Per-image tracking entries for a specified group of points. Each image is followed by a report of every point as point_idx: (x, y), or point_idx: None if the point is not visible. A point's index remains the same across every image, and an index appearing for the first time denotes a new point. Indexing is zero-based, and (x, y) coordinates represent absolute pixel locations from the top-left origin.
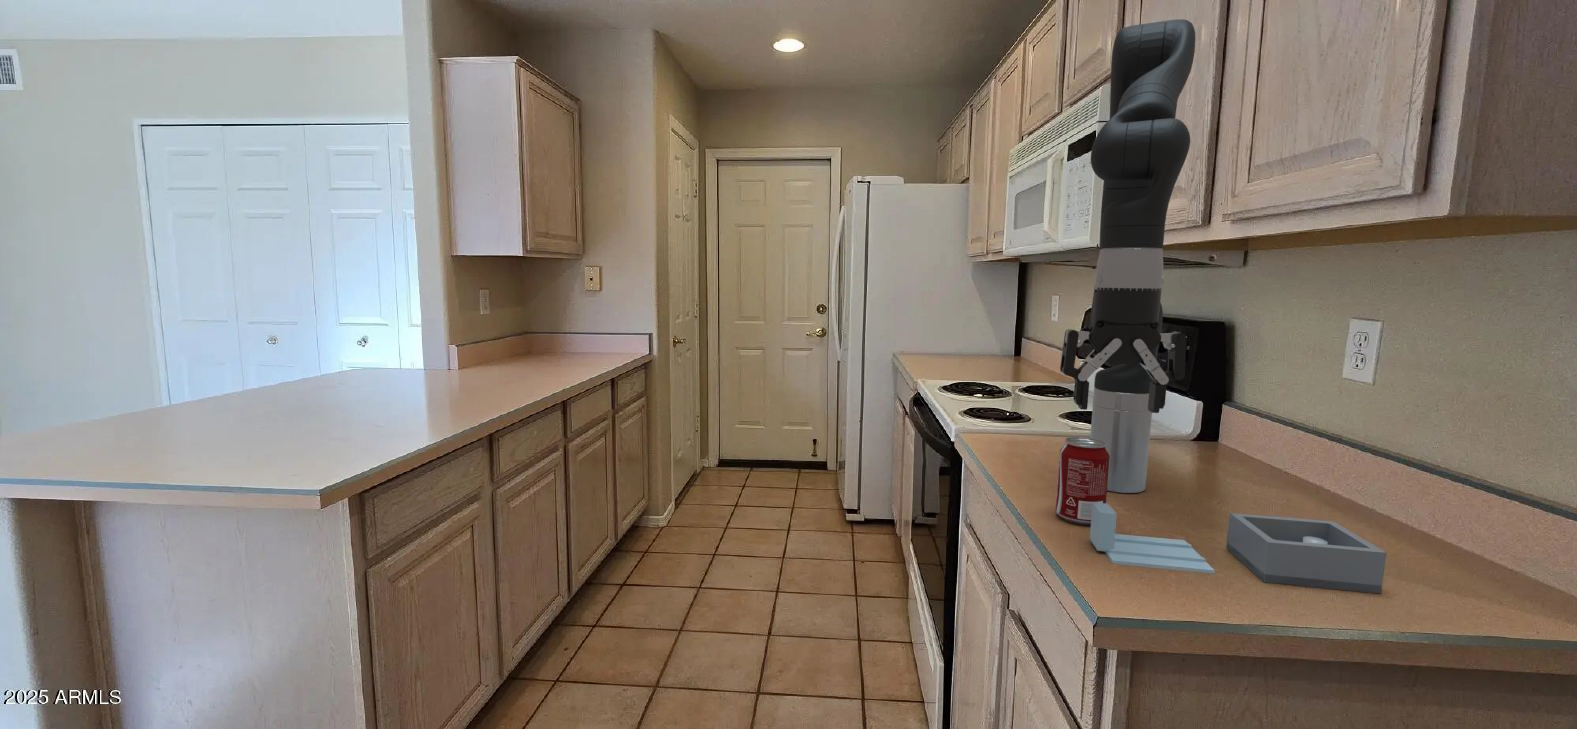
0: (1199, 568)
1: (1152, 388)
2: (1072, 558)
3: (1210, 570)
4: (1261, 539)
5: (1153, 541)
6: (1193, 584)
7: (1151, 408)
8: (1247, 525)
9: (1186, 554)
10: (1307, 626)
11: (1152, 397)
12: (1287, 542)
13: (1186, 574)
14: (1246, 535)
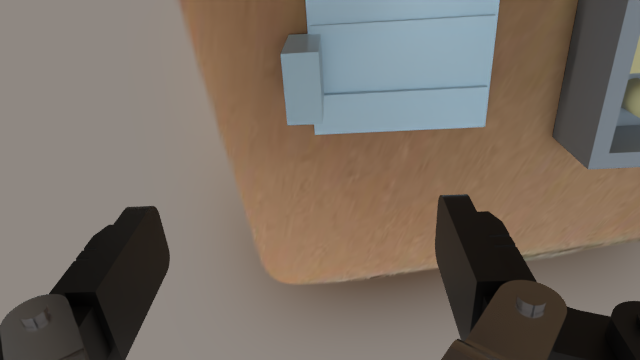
0: (460, 125)
1: (463, 301)
2: (248, 129)
3: (477, 126)
4: (590, 144)
5: (419, 25)
6: (426, 175)
7: (439, 241)
8: (612, 78)
9: (466, 63)
10: (521, 254)
11: (451, 276)
12: (628, 159)
13: (431, 140)
14: (596, 79)
